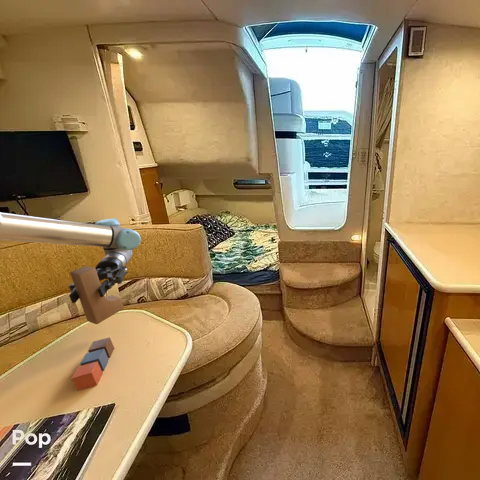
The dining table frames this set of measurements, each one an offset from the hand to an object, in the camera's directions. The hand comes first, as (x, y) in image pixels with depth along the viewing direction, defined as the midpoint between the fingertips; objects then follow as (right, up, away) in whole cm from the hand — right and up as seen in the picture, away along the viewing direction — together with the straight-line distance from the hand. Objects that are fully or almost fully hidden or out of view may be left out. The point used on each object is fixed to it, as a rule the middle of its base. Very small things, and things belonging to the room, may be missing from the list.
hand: (86, 295), depth 80 cm
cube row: (+4, -21, -1) cm, 21 cm away
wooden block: (-1, -8, +8) cm, 12 cm away
